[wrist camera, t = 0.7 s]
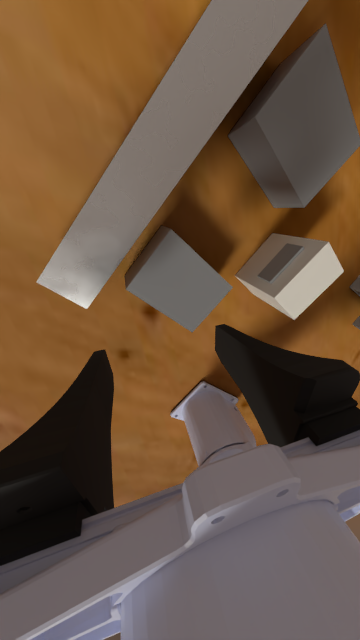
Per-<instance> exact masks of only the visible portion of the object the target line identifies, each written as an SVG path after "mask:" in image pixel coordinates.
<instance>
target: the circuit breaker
mask: <svg viewBox="0 0 360 640" xmlns="http://www.w3.org/2000/svg"><path fill="white" fill-rule="evenodd" d="M350 288H351V289H352V290H353V291H354V292H356V293H357V294H358V295H359V296H360V275H359V276H358V277H357V279H356V280H355V281H354V282H353V283H352V285H351V286H350ZM353 325H354V326H355V327H357V328H358V329H360V316H359V317H358V318H357V319H356V320H355V321H354V323H353Z"/></svg>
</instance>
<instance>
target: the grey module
mask: <svg viewBox="0 0 360 640" xmlns="http://www.w3.org/2000/svg"><path fill="white" fill-rule="evenodd" d="M343 272H344V270H343V268H342V266H341V264H340V263H339V261H338V259H337V257H336V255H335V253H334V251H333V249H332V247H331V245H330V243H329V242H326V241H320V240H314V239H307V238H301V237H295V236H288V235H282V234H275V233H272V234H271V235H270V237H269V238H268V239H267V240H266V241H265V242H264V243H263V244H262V246H261V247H260V248H259V249H258V250H257V251H256V252H255V253H254V255H253V256H252V257H251V258H250V259H249V260H248V261H247V263H246V264H245V265H244V266H243V267H242V268H241V269H240V270H239V272H238V273H237V274H236V275H235V276H236V277H237V278H238V279H239V280H240V281H241V282H242V283H243V284H244V285H245V286H246V287H247V288H248V289H249V290H250V291H251V292H252V293H253V294H254V295H255V296H257V297H259V298H260V299H262V300H263V301H265V302H266V303H268V304H270V305H271V306H273V307H274V308H276V309H278V310H279V311H281V312H282V313H284V314H286V315H287V316H289V317H290V318H292V319H294V320H295V319H296V318H297V317H298V316H299V315H300V314H301V313H302V312H303V311H304V310H305V309H306V308H307V307H308V306H309V305H310V304H311V303H312V302H313V301H314V300H315V299H316V298H317V297H318V296H319V295H320V294H321V293H322V292H324V291H325V290H326V289H327V288H328V287H329V286H330V285H331V284H332V283H333V282H334V281H335V280H336V279H337V278H338V277H339V276H340V275H341V274H342V273H343Z"/></svg>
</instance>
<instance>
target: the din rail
mask: <svg viewBox="0 0 360 640" xmlns="http://www.w3.org/2000/svg"><path fill="white" fill-rule="evenodd" d="M307 2H308V0H212V1H211V2H210V4H209V5H208V7H207V9H206V10H205V12H204V14H203V15H202V17H201V18H200V20H199V22H198V23H197V25H196V26H195V28H194V30H193V31H192V33H191V34H190V36H189V38H188V39H187V41H186V42H185V44H184V46H183V47H182V49H181V50H180V52H179V54H178V55H177V57H176V59H175V60H174V62H173V63H172V65H171V67H170V68H169V70H168V71H167V73H166V75H165V76H164V78H163V79H162V81H161V83H160V84H159V86H158V87H157V89H156V91H155V92H154V94H153V96H152V97H151V99H150V100H149V102H148V104H147V105H146V107H145V108H144V110H143V112H142V113H141V115H140V116H139V118H138V120H137V121H136V123H135V124H134V126H133V128H132V129H131V131H130V132H129V134H128V136H127V137H126V139H125V141H124V142H123V144H122V145H121V147H120V149H119V150H118V152H117V153H116V155H115V157H114V158H113V160H112V161H111V163H110V165H109V166H108V168H107V169H106V171H105V173H104V174H103V176H102V178H101V179H100V181H99V182H98V184H97V186H96V187H95V189H94V190H93V192H92V194H91V195H90V197H89V198H88V200H87V202H86V203H85V205H84V206H83V208H82V210H81V211H80V213H79V214H78V216H77V218H76V219H75V221H74V223H73V224H72V226H71V227H70V229H69V231H68V232H67V234H66V235H65V237H64V239H63V240H62V242H61V243H60V245H59V247H58V248H57V250H56V251H55V253H54V255H53V256H52V258H51V260H50V261H49V263H48V264H47V266H46V268H45V269H44V271H43V272H42V274H41V276H40V277H39V279H38V280H37V283H39V284H41V285H43V286H45V287H46V288H48V289H50V290H52V291H54V292H56V293H58V294H60V295H61V296H63V297H65V298H67V299H69V300H71V301H73V302H75V303H76V304H78V305H80V306H82V307H84V308H86V309H87V308H88V307H89V305H90V304H91V303H92V301H93V300H94V298H95V297H96V296H97V294H98V293H99V292H100V290H101V289H102V287H103V286H104V285H105V283H106V282H107V280H108V279H109V278H110V276H111V275H112V273H113V272H114V271H115V269H116V268H117V266H118V265H119V264H120V262H121V261H122V259H123V258H124V257H125V255H126V254H127V252H128V251H129V250H130V248H131V247H132V246H133V244H134V243H135V241H136V240H137V239H138V237H139V236H140V234H141V233H142V232H143V230H144V229H145V227H146V226H147V225H148V223H149V222H150V220H151V219H152V218H153V216H154V215H155V213H156V212H157V211H158V209H159V208H160V206H161V205H162V204H163V202H164V201H165V200H166V198H167V197H168V195H169V194H170V193H171V191H172V190H173V188H174V187H175V186H176V184H177V183H178V181H179V180H180V179H181V177H182V176H183V174H184V173H185V172H186V170H187V169H188V167H189V166H190V165H191V163H192V162H193V160H194V159H195V158H196V156H197V155H198V154H199V152H200V151H201V149H202V148H203V147H204V145H205V144H206V142H207V141H208V140H209V138H210V137H211V135H212V134H213V133H214V131H215V130H216V128H217V127H218V126H219V124H220V123H221V121H222V120H223V119H224V117H225V116H226V114H227V113H228V112H229V110H230V109H231V108H232V106H233V105H234V103H235V102H236V101H237V99H238V98H239V96H240V95H241V94H242V92H243V91H244V89H245V88H246V87H247V85H248V84H249V82H250V81H251V80H252V78H253V77H254V75H255V74H256V73H257V71H258V70H259V68H260V67H261V66H262V64H263V63H264V62H265V60H266V59H267V57H268V56H269V55H270V53H271V52H272V50H273V49H274V48H275V46H276V45H277V43H278V42H279V41H280V39H281V38H282V36H283V35H284V34H285V32H286V31H287V29H288V28H289V27H290V25H291V24H292V22H293V21H294V20H295V18H296V17H297V16H298V14H299V13H300V11H301V10H302V9H303V7H304V6H305V4H306V3H307Z"/></svg>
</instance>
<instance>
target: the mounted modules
mask: <svg viewBox="0 0 360 640" xmlns="http://www.w3.org/2000/svg"><path fill="white" fill-rule="evenodd" d="M228 137H229V139H230V140H231V142H232V143H233V145H234V146H235V148H236V149H237V151H238V153H239V154H240V156H241V157H242V159H243V160H244V162H245V163H246V165H247V166H248V168H249V170H250V171H251V173H252V174H253V176H254V177H255V179H256V180H257V182H258V184H259V185H260V187H261V188H262V190H263V191H264V193H265V194H266V196H267V198H268V199H269V201H270V202H271V204H272V205H273V207H274V208H304V207H305V206H306V205H307V204H308V203H309V202H310V201H311V200H312V198H313V197H314V196H315V195H316V194H317V193H318V192H319V191H320V190H321V188H322V187H323V186H324V185H325V184H326V183H327V182H328V181H329V180H330V178H331V177H332V176H333V175H334V174H335V173H336V172H337V171H338V169H339V168H340V167H341V166H342V165H343V164H344V163H345V162H346V161H347V159H348V158H349V157H350V156H351V155H352V154H353V153H354V152H355V151H356V149H357V148H358V147H359V146H360V137H359V133H358V130H357V127H356V123H355V120H354V117H353V113H352V110H351V106H350V103H349V100H348V96H347V93H346V90H345V86H344V83H343V79H342V76H341V73H340V69H339V66H338V63H337V59H336V56H335V52H334V49H333V46H332V42H331V39H330V36H329V32H328V29H327V25H326V24H324V25H323V26H322V27H321V28H320V29H319V30H318V31H317V32H315V33H314V34H313V35H312V36H311V37H310V38H309V39H308V40H306V41H305V42H304V43H303V44H302V45H301V46H300V47H299V48H297V49H296V50H295V51H294V52H293V53H292V54H291V55H290V56H288V57H287V58H286V59H285V60H284V61H283V62H282V63H281V64H280V65H279V66H278V68H277V69H276V70H275V72H274V73H273V75H272V76H271V77H270V79H269V80H268V81H267V83H266V84H265V85H264V87H263V88H262V89H261V91H260V92H259V94H258V95H257V96H256V98H255V99H254V100H253V102H252V103H251V104H250V106H249V107H248V108H247V110H246V111H245V113H244V114H243V115H242V117H241V118H240V119H239V121H238V122H237V123H236V125H235V126H234V128H233V129H232V130H231V132H230V133H229V134H228ZM125 285H126V290H128V291H129V292H131V293H133V294H134V295H136V296H137V297H139V298H140V299H142V300H143V301H145V302H146V303H148V304H149V305H151V306H152V307H154V308H156V309H157V310H159V311H160V312H162V313H163V314H165V315H166V316H168V317H169V318H171V319H172V320H174V321H176V322H177V323H179V324H180V325H182V326H183V327H185V328H186V329H188V330H189V331H191V332H193V331H194V330H195V329H196V328H197V327H198V326H199V324H200V323H201V322H202V321H203V320H204V319H205V318H206V317H207V316H208V314H209V313H210V312H211V311H212V310H213V309H214V308H215V307H216V306H217V304H218V303H219V302H220V301H221V300H222V299H223V298H224V297H225V295H226V294H227V293H228V292H229V291H230V290H231V289H232V288H233V287H232V286H231V285H230V284H229V283H228V282H226V281H225V280H224V279H223V278H222V277H221V276H220V275H219V274H218V273H217V272H216V271H215V270H214V269H213V268H212V267H211V266H210V265H209V264H208V263H206V262H205V261H204V260H203V259H202V258H201V257H200V256H199V255H198V254H197V253H196V252H195V251H194V250H193V249H192V248H191V247H190V246H189V245H188V244H186V243H185V242H184V241H183V240H182V239H181V238H180V237H179V236H178V235H177V234H176V233H175V232H174V231H173V230H172V229H170V228H167V227H165V226H162V225H161V227H160V228H159V229H158V231H157V232H156V234H155V235H154V236H153V238H152V239H151V240H150V242H149V243H148V244H147V246H146V247H145V248H144V250H143V251H142V253H141V254H140V255H139V257H138V258H137V259H136V261H135V262H134V263H133V265H132V266H131V268H130V269H129V270H128V272H127V273H126V274H125Z"/></svg>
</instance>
